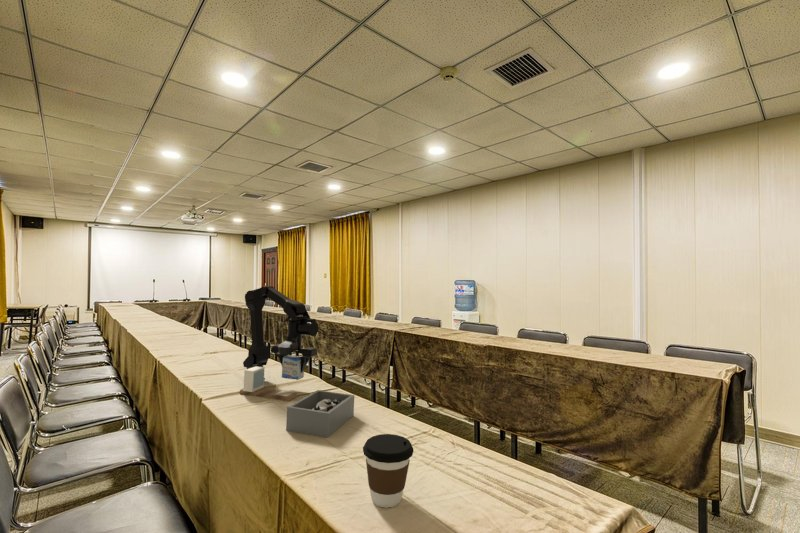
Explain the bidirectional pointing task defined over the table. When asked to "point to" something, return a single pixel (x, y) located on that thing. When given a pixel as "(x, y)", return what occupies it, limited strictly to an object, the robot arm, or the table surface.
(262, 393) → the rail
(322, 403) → the camera
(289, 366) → the medicine box
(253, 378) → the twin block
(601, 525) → the table surface
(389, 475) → the coffee cup
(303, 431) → the tray
